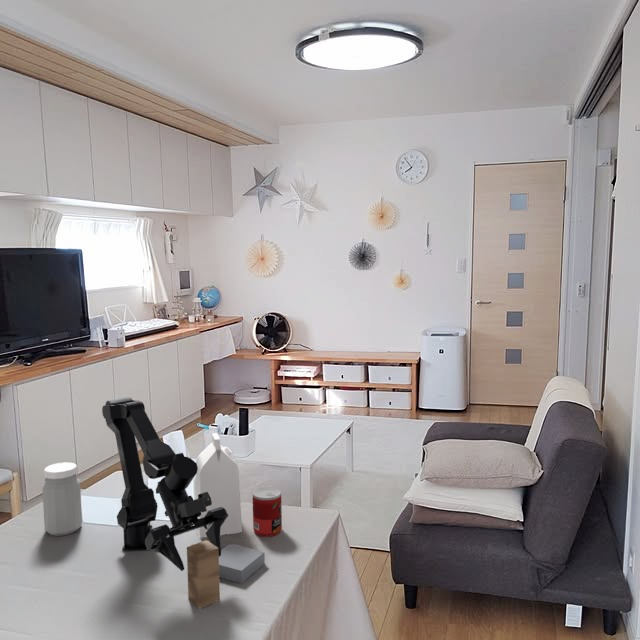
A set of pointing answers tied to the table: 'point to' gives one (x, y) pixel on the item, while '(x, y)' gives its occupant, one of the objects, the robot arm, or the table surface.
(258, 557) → the plate
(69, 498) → the jar
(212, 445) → the milk
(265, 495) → the canned food
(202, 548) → the walnut block
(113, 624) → the table surface
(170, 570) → the table surface
